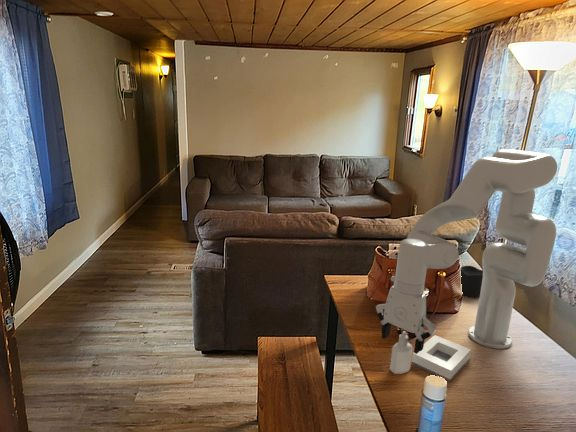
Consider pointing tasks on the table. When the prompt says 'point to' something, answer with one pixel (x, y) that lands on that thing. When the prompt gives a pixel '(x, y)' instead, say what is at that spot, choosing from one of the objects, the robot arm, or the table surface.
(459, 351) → the bottle holder
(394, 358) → the eye dropper bottle
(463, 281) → the pen holder
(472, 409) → the table surface
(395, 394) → the table surface
